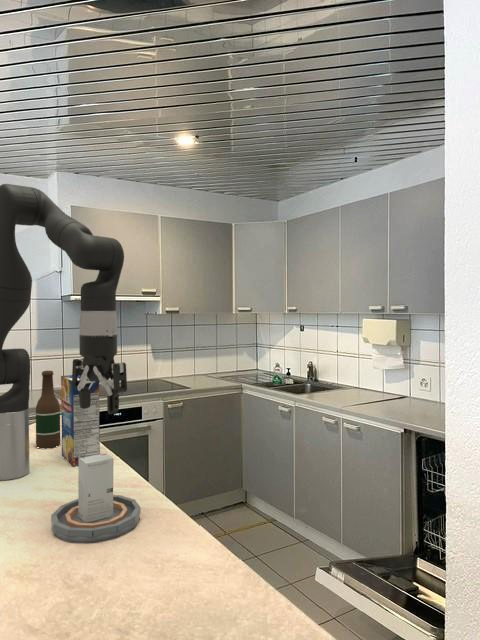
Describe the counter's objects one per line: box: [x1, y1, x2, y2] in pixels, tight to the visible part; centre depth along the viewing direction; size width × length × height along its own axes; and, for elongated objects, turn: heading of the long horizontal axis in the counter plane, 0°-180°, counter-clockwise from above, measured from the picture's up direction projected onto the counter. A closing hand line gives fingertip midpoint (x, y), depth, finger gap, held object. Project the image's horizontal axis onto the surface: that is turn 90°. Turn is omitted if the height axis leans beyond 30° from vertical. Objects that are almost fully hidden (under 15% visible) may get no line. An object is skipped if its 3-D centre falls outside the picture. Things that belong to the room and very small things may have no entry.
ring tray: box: [50, 494, 142, 544], centre depth 98 cm, size 17×17×2 cm
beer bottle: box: [35, 370, 61, 449], centre depth 153 cm, size 8×8×24 cm
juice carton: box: [60, 374, 101, 468], centre depth 139 cm, size 12×8×24 cm, turn 35°
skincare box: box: [77, 453, 114, 523], centre depth 98 cm, size 6×4×12 cm
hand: (98, 410), depth 100 cm, fingers open, 8 cm apart
